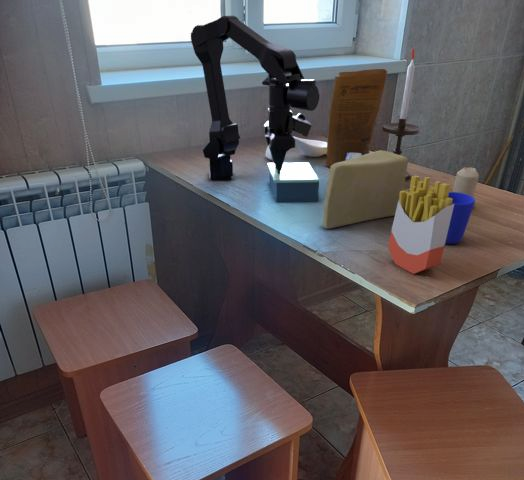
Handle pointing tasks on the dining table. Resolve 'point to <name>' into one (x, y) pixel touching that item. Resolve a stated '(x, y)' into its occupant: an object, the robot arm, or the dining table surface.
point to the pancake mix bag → (353, 113)
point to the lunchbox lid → (293, 173)
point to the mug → (459, 216)
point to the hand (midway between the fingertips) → (277, 167)
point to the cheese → (364, 188)
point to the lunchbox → (294, 191)
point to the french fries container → (421, 225)
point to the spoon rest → (306, 147)
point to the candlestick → (404, 114)
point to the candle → (466, 181)
